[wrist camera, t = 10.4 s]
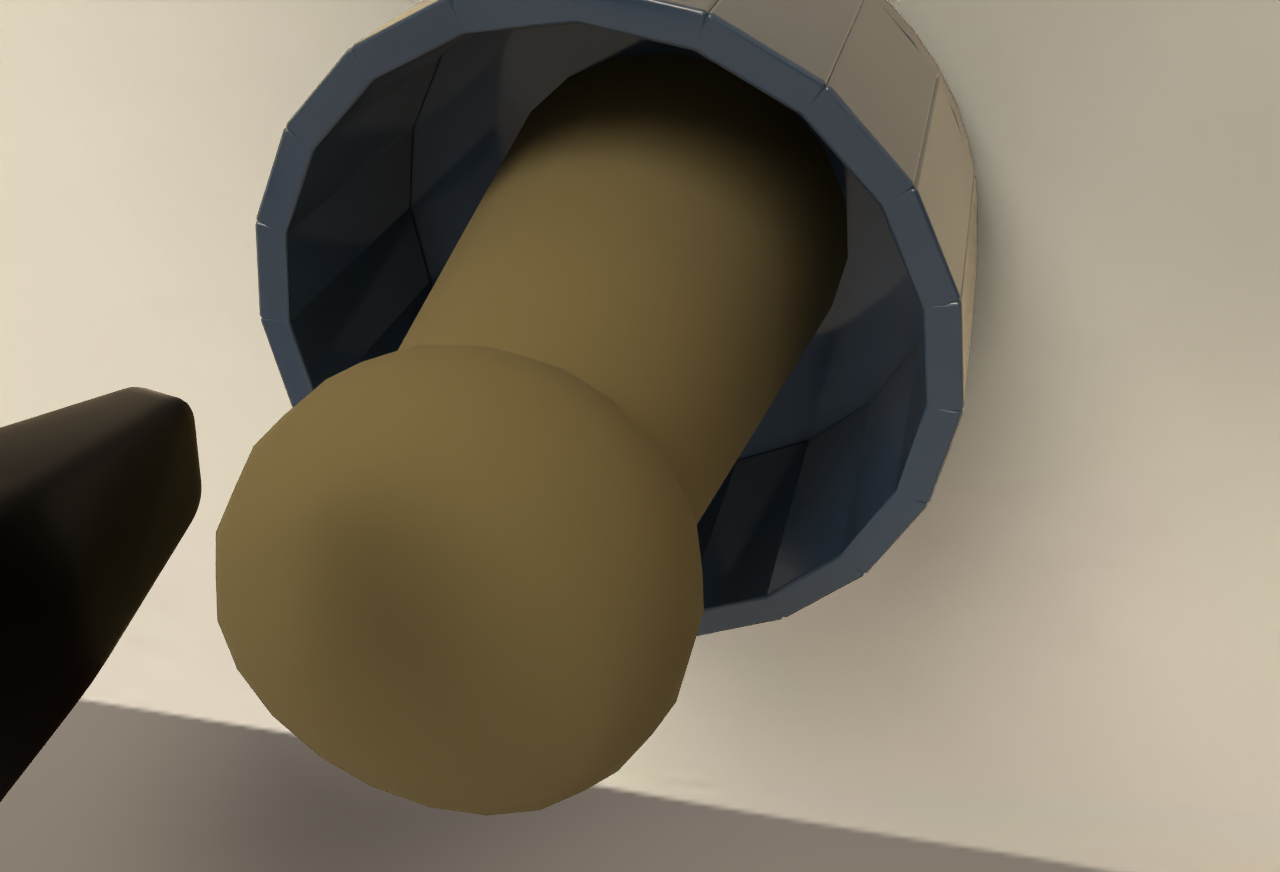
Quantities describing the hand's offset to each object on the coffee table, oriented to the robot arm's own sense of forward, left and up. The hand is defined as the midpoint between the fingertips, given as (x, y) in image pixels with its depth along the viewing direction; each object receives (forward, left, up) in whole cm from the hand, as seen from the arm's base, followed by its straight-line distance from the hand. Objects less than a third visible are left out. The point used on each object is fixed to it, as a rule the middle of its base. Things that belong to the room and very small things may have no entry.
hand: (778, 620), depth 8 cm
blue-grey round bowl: (+3, +4, -13) cm, 14 cm away
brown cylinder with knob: (+3, +4, -12) cm, 13 cm away
